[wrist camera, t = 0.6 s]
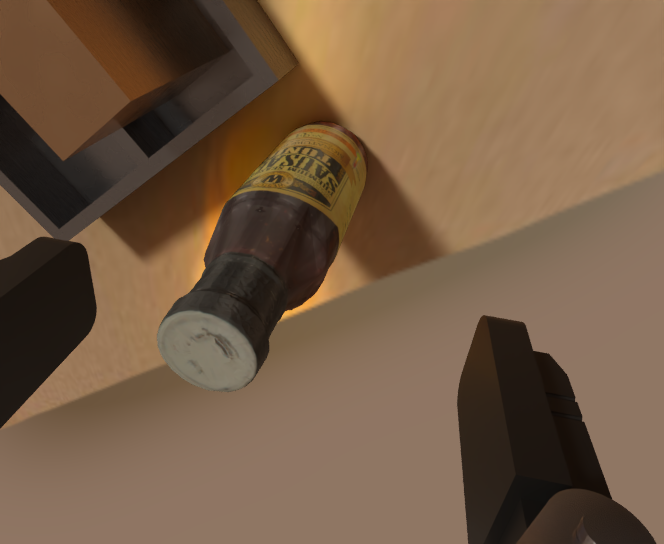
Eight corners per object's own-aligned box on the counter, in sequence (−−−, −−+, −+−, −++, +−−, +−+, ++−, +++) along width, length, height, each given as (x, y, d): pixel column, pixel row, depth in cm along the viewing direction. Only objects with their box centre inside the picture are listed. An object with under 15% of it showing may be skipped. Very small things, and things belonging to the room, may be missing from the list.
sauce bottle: (370, 116, 32) (299, 292, 16) (369, 205, 36) (310, 424, 19) (272, 115, 33) (112, 278, 17) (281, 201, 37) (154, 405, 20)
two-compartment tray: (166, -134, 27) (-9, -186, 16) (299, 63, 31) (227, 123, 21) (-24, 87, 36) (-215, 145, 26) (98, 216, 41) (-22, 311, 30)
